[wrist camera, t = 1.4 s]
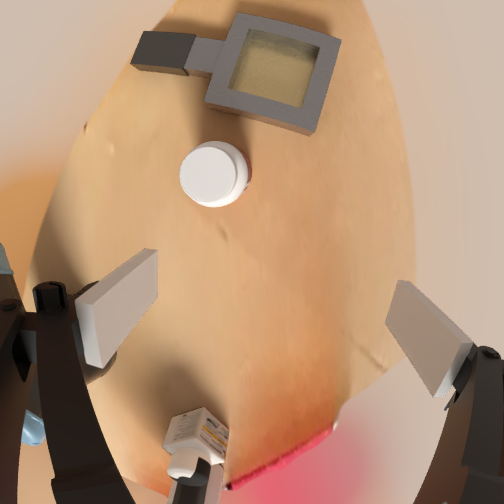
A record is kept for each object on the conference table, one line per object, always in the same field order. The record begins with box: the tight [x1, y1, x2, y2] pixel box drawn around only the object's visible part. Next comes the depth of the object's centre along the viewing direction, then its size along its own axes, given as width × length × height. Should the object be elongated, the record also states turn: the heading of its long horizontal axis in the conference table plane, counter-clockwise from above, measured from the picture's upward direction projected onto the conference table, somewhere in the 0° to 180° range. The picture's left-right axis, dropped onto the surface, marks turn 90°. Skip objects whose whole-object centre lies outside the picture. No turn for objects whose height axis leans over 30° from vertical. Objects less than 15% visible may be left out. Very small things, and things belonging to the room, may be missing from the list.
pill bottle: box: [179, 141, 252, 207], centre depth 28 cm, size 6×6×11 cm
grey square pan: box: [130, 12, 342, 136], centre depth 27 cm, size 23×12×4 cm, turn 73°
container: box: [162, 407, 229, 486], centre depth 39 cm, size 8×8×13 cm
